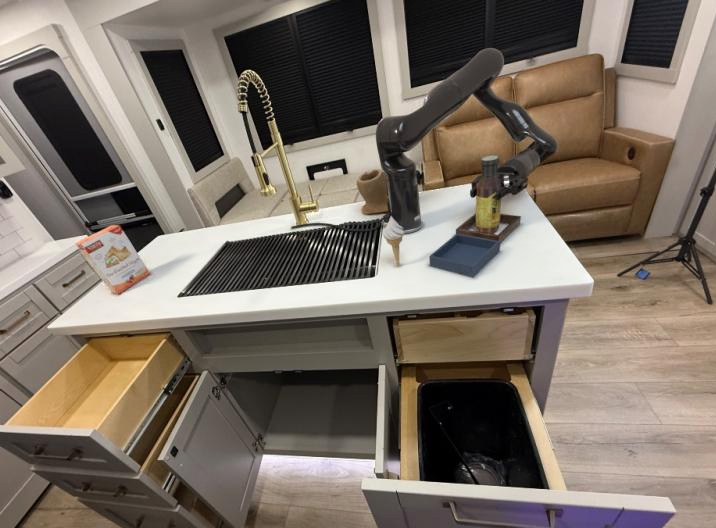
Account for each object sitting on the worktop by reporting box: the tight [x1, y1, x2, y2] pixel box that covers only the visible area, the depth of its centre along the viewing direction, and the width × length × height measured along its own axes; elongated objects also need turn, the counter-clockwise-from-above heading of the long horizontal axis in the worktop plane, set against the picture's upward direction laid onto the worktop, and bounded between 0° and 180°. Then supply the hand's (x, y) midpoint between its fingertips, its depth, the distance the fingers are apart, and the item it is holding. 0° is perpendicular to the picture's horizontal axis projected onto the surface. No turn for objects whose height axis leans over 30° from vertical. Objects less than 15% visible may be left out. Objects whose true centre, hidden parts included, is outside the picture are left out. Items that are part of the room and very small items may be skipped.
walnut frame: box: [455, 212, 522, 244], centre depth 97 cm, size 13×13×2 cm
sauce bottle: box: [475, 155, 502, 234], centre depth 92 cm, size 7×6×20 cm
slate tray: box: [428, 233, 501, 278], centre depth 88 cm, size 12×13×3 cm
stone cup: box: [355, 168, 389, 215], centre depth 123 cm, size 15×12×15 cm
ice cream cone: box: [382, 216, 405, 267], centre depth 90 cm, size 6×6×15 cm
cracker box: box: [75, 224, 151, 295], centre depth 123 cm, size 14×6×21 cm, turn 148°
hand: (484, 195), depth 90 cm, fingers closed on sauce bottle, 6 cm apart
